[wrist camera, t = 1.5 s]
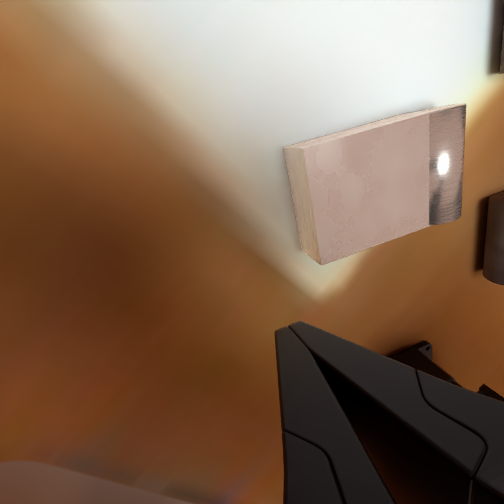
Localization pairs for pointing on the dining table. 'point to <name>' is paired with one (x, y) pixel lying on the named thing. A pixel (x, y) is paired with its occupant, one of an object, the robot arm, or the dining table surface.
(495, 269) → the striped wooden board
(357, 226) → the pale pink block
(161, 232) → the dining table surface
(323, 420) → the robot arm
